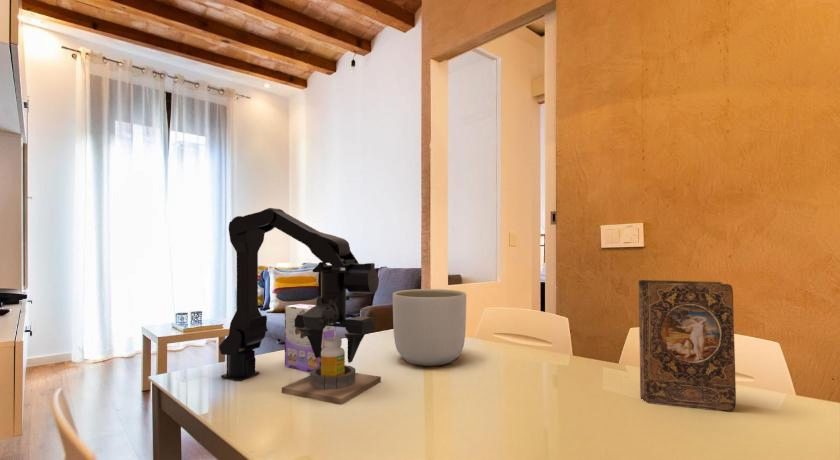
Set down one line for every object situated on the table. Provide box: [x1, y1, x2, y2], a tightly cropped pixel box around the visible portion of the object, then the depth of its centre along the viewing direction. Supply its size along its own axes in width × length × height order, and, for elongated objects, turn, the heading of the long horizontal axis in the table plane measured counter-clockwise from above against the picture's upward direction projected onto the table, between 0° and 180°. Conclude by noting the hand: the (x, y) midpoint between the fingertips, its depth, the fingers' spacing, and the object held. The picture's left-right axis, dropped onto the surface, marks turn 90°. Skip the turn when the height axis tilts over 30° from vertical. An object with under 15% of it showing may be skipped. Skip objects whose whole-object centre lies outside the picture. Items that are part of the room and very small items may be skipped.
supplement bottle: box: [321, 337, 346, 376], centre depth 99 cm, size 5×5×10 cm
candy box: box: [284, 303, 337, 373], centre depth 115 cm, size 14×6×16 cm, turn 58°
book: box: [638, 279, 737, 412], centre depth 90 cm, size 16×6×25 cm, turn 71°
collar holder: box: [281, 364, 382, 405], centre depth 99 cm, size 16×16×4 cm
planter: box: [392, 288, 467, 367], centre depth 122 cm, size 21×21×19 cm
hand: (333, 359), depth 99 cm, fingers open, 9 cm apart
